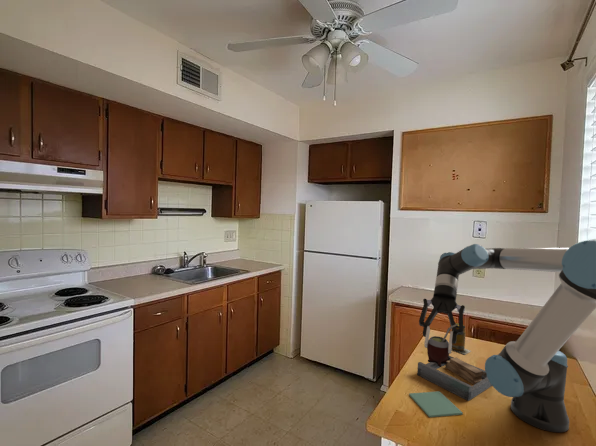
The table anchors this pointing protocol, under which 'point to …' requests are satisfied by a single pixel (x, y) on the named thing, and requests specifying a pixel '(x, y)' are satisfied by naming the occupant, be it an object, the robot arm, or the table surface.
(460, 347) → the condiment
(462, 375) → the offcut stack
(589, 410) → the table surface
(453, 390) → the tray
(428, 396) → the green mat
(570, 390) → the table surface
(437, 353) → the mate gourd
